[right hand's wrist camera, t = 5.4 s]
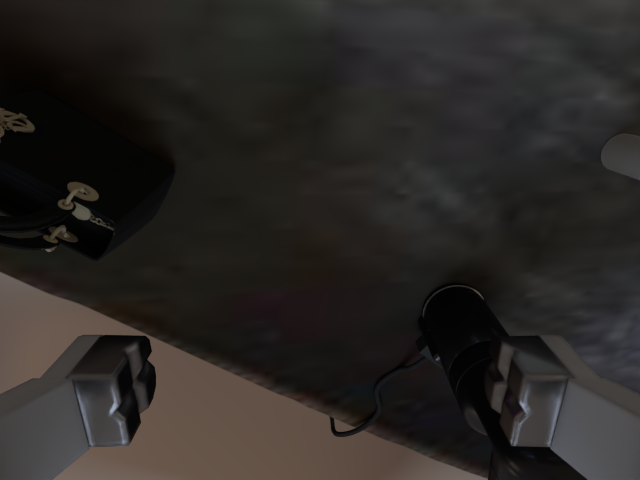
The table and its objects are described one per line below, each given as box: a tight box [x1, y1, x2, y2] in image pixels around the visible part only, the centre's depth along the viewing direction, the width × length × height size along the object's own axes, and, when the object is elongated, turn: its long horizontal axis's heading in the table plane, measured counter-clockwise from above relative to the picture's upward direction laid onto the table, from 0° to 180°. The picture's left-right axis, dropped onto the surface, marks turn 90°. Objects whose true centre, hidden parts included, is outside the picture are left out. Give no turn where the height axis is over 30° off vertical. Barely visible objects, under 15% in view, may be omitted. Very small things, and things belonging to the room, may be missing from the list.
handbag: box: [0, 90, 175, 261], centre depth 45 cm, size 21×9×25 cm, turn 57°
